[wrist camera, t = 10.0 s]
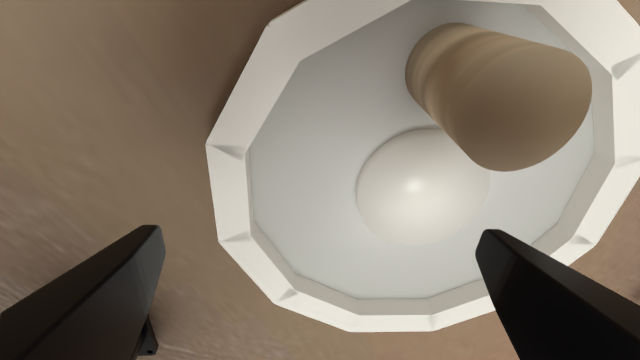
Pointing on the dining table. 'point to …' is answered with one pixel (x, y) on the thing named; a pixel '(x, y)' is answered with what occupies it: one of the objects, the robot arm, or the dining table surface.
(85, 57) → the dining table surface
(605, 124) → the ring tray
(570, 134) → the tan rounded cylinder
